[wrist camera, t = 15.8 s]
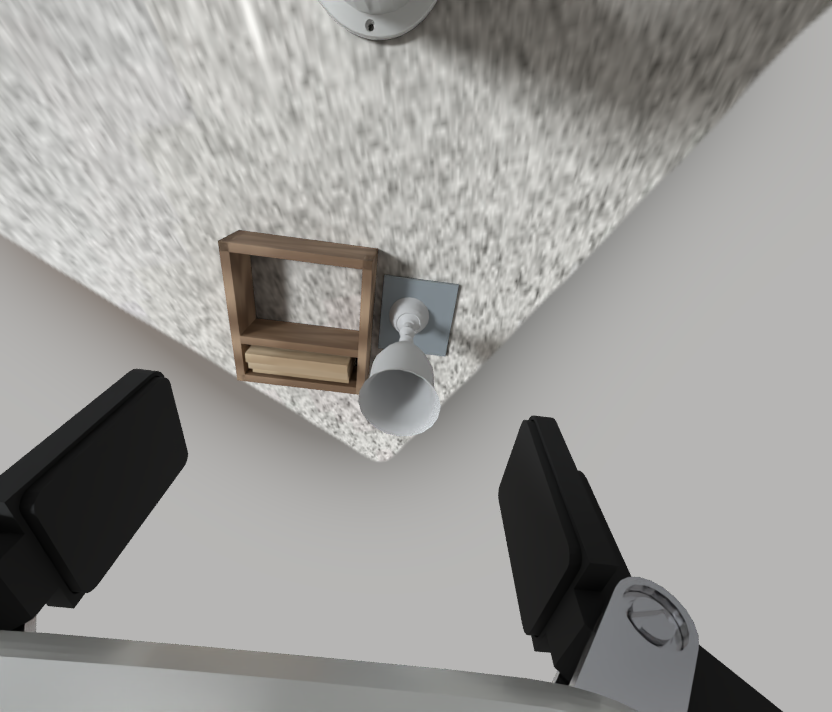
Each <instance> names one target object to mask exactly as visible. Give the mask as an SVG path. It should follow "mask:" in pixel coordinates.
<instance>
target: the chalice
mask: <svg viewBox="0 0 832 712" xmlns="http://www.w3.org/2000/svg"><path fill="white" fill-rule="evenodd" d="M389 318H390V322H391V324H392V326H393V327H394V328H395V329H396V330H397V331H398V332H399V333H400V339H399V342H396V343H393V344H391V345H389V346H388V347H386V348H385V349H384V350H383V351H382V352H380V353H379V354H378V355H377V356H376V358H375V360H374V362H373V364H372V368H371V373H370V377H369V378H368V379H367V380H366V381H365V382H364V384H363V386H362V387H361V389H360V392H359V405H360V409H361V412H362V413H363V415H364V416H365V418H366V419H367V421H368V422H370V423H371V424H372V425H373V426H374V427H376V428H377V429H379V430H381V431H383V432H385V433H387V434H392V435H396V436H412V435H416V434H419V433H422V432H424V431H425V430H427V429H428V428H429V427H431V426H432V425H433V424H434V422H435V421H436V420H437V418H438V415H439V411H440V402H439V397H438V395H437V393H436V391H435V389H434V374H433V367H432V365H431V363H430V362H429V360H428V358H427V357H426V355H425V354H424V353H423V352H422V350H421V349H420V348H419V347H417V346H416V345H414V344H413V343H414V342H413V338H414V336H415V334H417V333H419V332H420V331H421V330H423V329H424V328H425V327H426V325H427V324H428V320H429V311H428V309H427V307H426V306H425V305H424V304H423V302H421V301H420V300H418V299H416V298H411V297H407V298H402V299H399V300H397V301H396V302H395V303H394V304H393V305H392V307H391V309H390V312H389Z"/></svg>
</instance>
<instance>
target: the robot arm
mask: <svg viewBox="0 0 832 712" xmlns="http://www.w3.org/2000/svg"><path fill="white" fill-rule="evenodd" d="M318 1H319V2H320V4H321V5H322V6H323V8H324V9H325V10H326V11H327V13H328V14H329V15H330V16H331V17H332V18H333V19H334V20H335V21H336V22H337V23H338V24H340V25H341V26H342V27H343V28H345V29H346V30H347V31H349V32H351V33H353V34H355V35H358V36H360V37H363V38H367V39H372V40H388V39H391V38H395V37H399V36H401V35H403V34H405V33H407V32H408V31H410V30H412V29H413V28H415V27H416V26H417V25H418V24H419V23H420V22H421V21H423V20H424V19H425V17H426V16H427V15H428V13H429V12H430V11H431V10H432V8H433V7H434V5H435V4H436V2H437V0H318ZM371 24H372V25H374V30H373V31H370V30H369V25H371ZM187 457H188V451H187V447H186V443H185V439H184V435H183V431H182V427H181V423H180V419H179V415H178V412H177V408H176V404H175V400H174V396H173V392H172V388H171V384H170V381H169V380H168V379H167V378H164V375H163V374H162V373H161V372H159V371H151V370H143V369H133V370H131V371H130V372H128V373H127V374H126V375H124V376H123V377H122V378H121V379H120V380H118V381H117V382H116V383H115V384H113V385H112V386H111V387H110V388H108V389H107V390H106V391H105V392H103V393H102V394H101V395H100V396H98V397H97V398H96V399H95V400H93V401H92V402H91V403H90V404H89V405H87V406H86V407H85V408H83V409H82V410H81V411H80V412H78V413H77V414H76V415H75V416H73V417H72V418H71V419H70V420H69V421H67V422H66V423H65V424H63V425H62V426H61V427H60V428H59V429H57V430H56V431H55V432H54V433H52V434H51V435H50V436H49V437H47V438H46V439H45V440H44V441H42V442H41V443H40V444H39V445H37V446H36V447H35V448H34V449H32V450H31V451H30V452H29V453H27V454H26V455H25V456H24V457H22V458H21V459H20V460H19V461H17V462H16V463H15V464H14V465H12V466H11V467H10V468H9V469H8V470H6V471H5V472H4V473H2V474H1V475H0V712H783V711H781V710H780V709H779V708H777V707H776V706H775V705H774V704H773V703H771V702H770V701H769V700H768V699H766V698H765V697H764V696H763V695H761V694H760V693H759V692H757V691H756V690H755V689H754V688H753V687H751V686H750V685H749V684H747V683H746V682H745V681H744V680H743V679H741V678H740V677H738V676H737V675H736V674H735V673H734V672H732V671H731V670H730V669H729V668H728V667H726V666H725V665H724V664H723V663H721V662H720V661H719V660H717V659H716V658H715V657H714V656H712V655H711V654H710V653H709V652H707V651H706V650H705V649H704V648H702V647H701V646H700V645H699V641H698V640H699V639H698V633H697V630H696V627H695V624H694V622H693V620H692V619H691V617H690V615H689V614H688V612H687V611H686V609H685V608H684V607H683V606H682V605H681V604H680V602H679V601H678V600H677V599H676V598H675V597H674V596H673V595H671V594H670V593H669V592H668V591H667V590H666V589H664V588H663V587H661V586H659V585H658V584H656V583H654V582H652V581H650V580H647V579H644V578H641V577H631V575H630V573H629V571H628V568H627V566H626V564H625V562H624V559H623V557H622V555H621V553H620V551H619V549H618V546H617V544H616V542H615V540H614V538H613V535H612V533H611V531H610V529H609V527H608V524H607V522H606V520H605V518H604V516H603V513H602V511H601V509H600V507H599V505H598V503H597V500H596V498H595V496H594V494H593V491H592V489H591V487H590V485H589V483H588V480H587V478H586V477H585V475H584V474H583V473H582V472H581V471H578V470H577V468H576V466H575V463H574V461H573V459H572V457H571V454H570V452H569V450H568V448H567V445H566V443H565V441H564V438H563V436H562V434H561V432H560V429H559V427H558V425H557V422H556V421H555V419H554V418H550V417H541V416H531V417H530V418H529V420H523V422H522V424H521V426H520V429H519V432H518V435H517V438H516V441H515V444H514V446H513V449H512V452H511V455H510V458H509V461H508V464H507V466H506V469H505V472H504V475H503V478H502V481H501V483H500V487H499V493H498V496H499V497H498V498H499V504H500V510H501V515H502V520H503V525H504V531H505V536H506V541H507V547H508V552H509V557H510V562H511V567H512V573H513V578H514V583H515V588H516V593H517V599H518V604H519V609H520V615H521V620H522V625H523V629H524V632H525V633H526V635H531V637H532V641H533V646H534V651H538V652H550V653H551V656H552V660H553V664H554V667H555V668H556V669H557V670H558V671H557V673H556V675H555V677H554V679H553V681H552V683H551V682H544V681H539V680H533V679H527V678H518V677H509V676H501V675H492V674H484V673H475V672H466V671H458V670H448V669H438V668H428V667H416V666H407V665H396V664H386V663H375V662H365V661H354V660H344V659H334V658H323V657H312V656H300V655H289V654H278V653H268V652H257V651H246V650H235V649H224V648H212V647H201V646H190V645H179V644H166V643H155V642H144V641H132V640H120V639H108V638H96V637H84V636H73V635H61V634H50V633H36V615H37V614H38V612H39V611H40V610H41V609H42V607H43V606H44V605H45V604H47V605H48V606H54V607H66V608H75V606H76V605H77V604H78V602H79V601H80V599H81V598H82V597H83V595H84V594H85V593H88V592H91V591H92V590H93V589H94V588H95V587H96V586H97V585H98V584H99V582H100V581H101V580H102V578H103V577H104V575H105V574H106V573H107V571H108V570H109V569H110V567H111V566H112V565H113V563H114V562H115V560H116V559H117V558H118V556H119V555H120V554H121V552H122V551H123V549H124V548H125V547H126V545H127V544H128V543H129V541H130V540H131V539H132V537H133V536H134V534H135V533H136V532H137V530H138V529H139V527H140V526H141V525H142V523H143V522H144V521H145V519H146V518H147V517H148V515H149V514H150V512H151V511H152V510H153V508H154V507H155V506H156V504H157V503H158V501H159V500H160V499H161V497H162V496H163V495H164V493H165V492H166V491H167V489H168V488H169V486H170V485H171V484H172V482H173V481H174V480H175V478H176V477H177V475H178V474H179V473H180V471H181V470H182V469H183V467H184V466H185V464H186V461H187Z"/></svg>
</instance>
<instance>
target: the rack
mask: <svg viewBox="0 0 832 712" xmlns="http://www.w3.org/2000/svg"><path fill="white" fill-rule="evenodd" d="M218 245H219V252H220V259H221V267H222V274H223V281H224V288H225V295H226V302H227V309H228V316H229V323H230V330H231V337H232V345H233V352H234V359H235V366H236V373H237V380H240V381H248V382H257V383H265V384H274V385H282V386H291V387H299V388H308V389H316V390H325V391H333V392H342V393H350V394H359V392H360V389H361V387H362V386H363V384H364V382H365V381H366V380H367V379H368V375H369V366H370V353H371V339H372V325H373V312H374V298H375V285H376V271H377V258H378V249H377V248H369V247H362V246H354V245H347V244H339V243H332V242H324V241H317V240H309V239H302V238H294V237H287V236H279V235H272V234H264V233H257V232H249V231H242V230H238V231H236V232H234V233H232V234H230V235H228V236H227V237H225V238H223V239H221V240H219V241H218ZM250 255H256V256H264V257H272V258H279V259H287V260H295V261H302V262H310V263H318V264H325V265H333V266H341V267H348V268H356V269H363V272H362V290H361V309H360V327H359V331H356V330H348V329H340V328H332V327H324V326H316V325H308V324H300V323H292V322H284V321H276V320H268V319H260V318H256V310H255V300H254V290H253V280H252V270H251V260H250ZM251 345H258V346H266V347H274V348H282V349H291V350H299V351H307V352H315V353H323V354H332V355H340V356H348V357H356V358H358V364H357V366H354V368H353V371H352V374H351V378H350V381H349V383H342V382H334V381H325V380H317V379H308V378H300V377H292V376H283V375H275V374H267V373H258V372H253V369H252V368H249V367H248V362H246V359H245V352H246V351H247V350H248V349H249V348H250V346H251Z"/></svg>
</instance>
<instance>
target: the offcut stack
mask: <svg viewBox="0 0 832 712" xmlns="http://www.w3.org/2000/svg"><path fill="white" fill-rule="evenodd" d="M245 359H246V362H248V367H249V368H252V369H253V372H258V373H267V374H275V375H283V376H292V377H300V378H308V379H317V380H325V381H334V382H342V383H349V381H350V378H351V374H352V371H353V368H354V365H355V357H348V356H340V355H332V354H323V353H315V352H307V351H299V350H291V349H282V348H274V347H266V346H258V345H251V346H250V348H249V349H248V350H247V351H246V352H245Z"/></svg>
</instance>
